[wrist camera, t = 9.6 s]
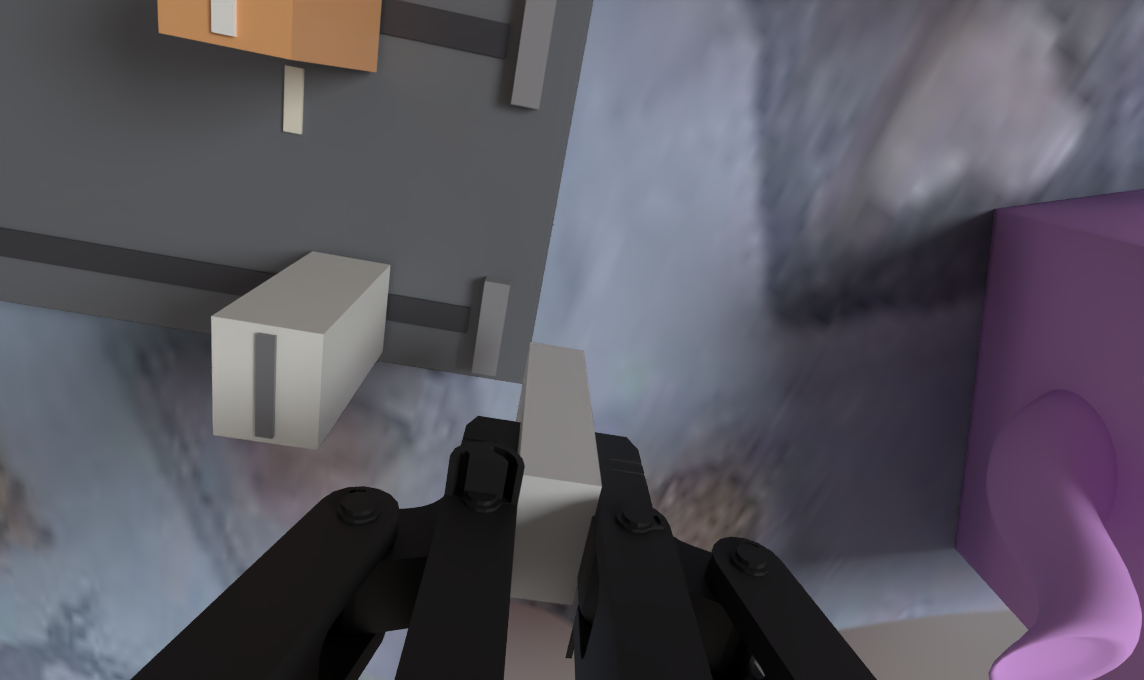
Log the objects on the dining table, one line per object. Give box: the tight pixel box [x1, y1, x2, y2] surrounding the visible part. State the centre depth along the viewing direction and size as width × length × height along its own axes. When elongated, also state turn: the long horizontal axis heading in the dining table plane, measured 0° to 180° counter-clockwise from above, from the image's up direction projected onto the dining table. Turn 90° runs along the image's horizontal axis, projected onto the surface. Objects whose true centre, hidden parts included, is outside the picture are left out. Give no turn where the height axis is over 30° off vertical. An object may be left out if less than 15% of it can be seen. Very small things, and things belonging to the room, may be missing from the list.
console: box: [0, 0, 593, 384], centre depth 19 cm, size 13×28×3 cm, turn 79°
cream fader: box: [211, 251, 391, 450], centre depth 17 cm, size 3×2×6 cm
